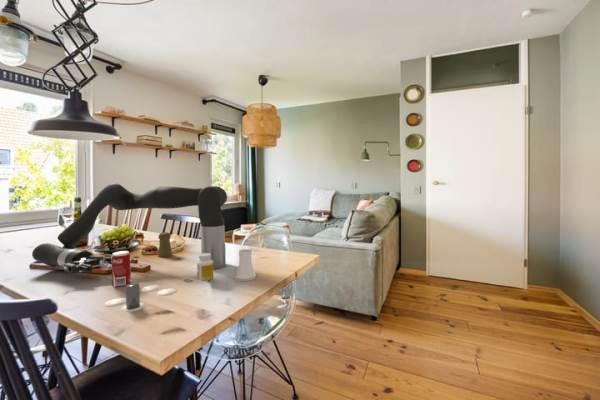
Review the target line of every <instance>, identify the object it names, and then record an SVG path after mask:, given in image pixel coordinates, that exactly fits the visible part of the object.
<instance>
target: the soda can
mask: <svg viewBox="0 0 600 400" xmlns="http://www.w3.org/2000/svg"><path fill="white" fill-rule="evenodd" d="M111 255H112V257H111V264H110V266H111V284H112V287H113V288H123V287H125V286H126V285H128V284H131V283H132V274H131V273H132V272H131V271H132V267H131V255H130V253H129V251H128V250H120V251H115V252H112V254H111Z"/></svg>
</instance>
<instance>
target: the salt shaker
mask: <svg viewBox="0 0 600 400" xmlns="http://www.w3.org/2000/svg"><path fill="white" fill-rule="evenodd" d="M252 254H253V250H252V249H250V248H249V249H247V248H246V249H240V250H238V256H239V260H238V267H237V268H238V269H237V270H236V274H235V275H234V279H235V280H237V281H240V282H245V281H247V282H248V281H252V280H255V279H256V278H257V274H256V273H255V270H254V268H253V262H252V260H253V259H252Z"/></svg>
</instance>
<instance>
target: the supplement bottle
mask: <svg viewBox="0 0 600 400" xmlns="http://www.w3.org/2000/svg"><path fill="white" fill-rule="evenodd" d="M210 258H211V254H210V253H202V252H201V253H199V254H198V259H199V260H198V261H197V262H196V274H197V276H196V277H197V278H196V279H197V280H198V281H207V283H208V284H211V283H213V281H214V269H213V260H211V259H210Z"/></svg>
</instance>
